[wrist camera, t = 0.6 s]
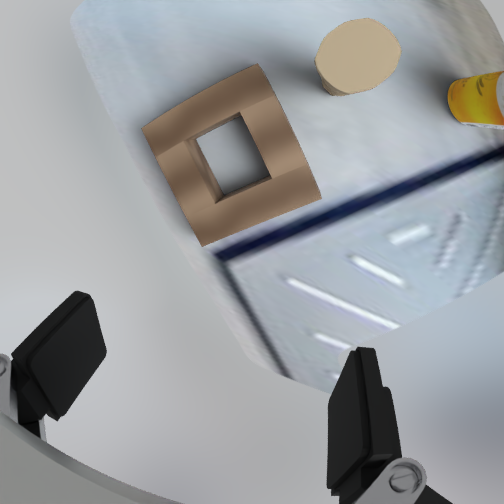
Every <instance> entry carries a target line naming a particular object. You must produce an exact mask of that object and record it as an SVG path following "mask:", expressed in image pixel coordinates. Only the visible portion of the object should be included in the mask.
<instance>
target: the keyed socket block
mask: <svg viewBox="0 0 504 504" xmlns="http://www.w3.org/2000/svg"><path fill="white" fill-rule="evenodd" d="M241 115H242V117H243V119H244V121H245V123H246V125H247V127H248V129H249V131H250V133H251V135H252V137H253V139H254V141H255V143H256V146H257V148H258V150H259V152H260V154H261V156H262V158H263V160H264V162H265V164H266V166H267V169H268V171H269V173H270V176H267V177H265V178H263V179H260V180H258V181H256V182H254V183H251V184H249V185H247V186H244V187H242V188H240V189H238V190H236V191H233V192H231V193H229V194H227V195H225V196H224V195H223V193H222V191H221V189H220V187H219V185H218V183H217V181H216V179H215V177H214V175H213V173H212V171H211V169H210V167H209V165H208V163H207V161H206V159H205V157H204V155H203V153H202V151H201V149H200V147H199V145H198V143H197V141H196V138H198V137H200V136H202V135H204V134H206V133H208V132H210V131H211V130H213V129H215V128H217V127H219V126H221V125H223V124H225V123H227V122H229V121H231V120H233V119H235V118H237V117H239V116H241ZM141 129H142V131H143V133H144V135H145V137H146V139H147V141H148V143H149V145H150V147H151V149H152V151H153V153H154V155H155V158H156V160H157V162H158V164H159V166H160V167H161V169H162V171H163V173H164V175H165V177H166V179H167V181H168V183H169V185H170V187H171V189H172V191H173V193H174V195H175V197H176V199H177V201H178V203H179V205H180V206H181V208H182V210H183V212H184V214H185V216H186V218H187V220H188V222H189V224H190V225H191V227H192V229H193V231H194V233H195V235H196V237H197V239H198V240H199V242H200V244H201V246H202V247H203V246H205V245H208V244H210V243H212V242H215V241H217V240H220V239H222V238H225V237H227V236H229V235H232V234H234V233H237V232H239V231H242V230H244V229H247V228H249V227H252V226H254V225H257V224H259V223H262V222H264V221H266V220H269V219H272V218H274V217H277V216H279V215H282V214H284V213H287V212H289V211H292V210H294V209H297V208H299V207H302V206H304V205H307V204H310V203H312V202H315V201H317V200H320V199H322V198H321V194H320V190H319V188H318V186H317V183H316V181H315V178H314V176H313V174H312V171H311V169H310V167H309V165H308V162H307V160H306V158H305V156H304V153H303V151H302V149H301V147H300V144H299V142H298V140H297V138H296V136H295V134H294V132H293V129H292V127H291V125H290V123H289V121H288V119H287V117H286V115H285V113H284V111H283V109H282V107H281V105H280V103H279V101H278V99H277V97H276V95H275V93H274V91H273V89H272V87H271V85H270V83H269V81H268V79H267V77H266V75H265V74H264V72H263V70H262V69H261V67H260V66H259V64H258V63H257V64H255V65H253V66H251V67H249V68H246V69H244V70H242V71H240V72H238V73H236V74H234V75H232V76H230V77H228V78H226V79H224V80H222V81H220V82H218V83H216V84H214V85H212V86H211V87H209V88H207V89H205V90H203V91H201V92H200V93H198V94H196V95H194V96H193V97H191V98H189V99H187V100H186V101H184V102H182V103H181V104H179V105H177V106H176V107H174V108H172V109H171V110H169V111H167V112H166V113H164V114H163V115H161V116H159V117H158V118H156V119H155V120H153V121H152V122H150V123H149V124H147V125H146V126H144V127H143V128H141Z"/></svg>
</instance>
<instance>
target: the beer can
mask: <svg viewBox="0 0 504 504" xmlns="http://www.w3.org/2000/svg"><path fill="white" fill-rule="evenodd" d="M448 104H449V107H450V110H451V112H452V114H453V115H454V117H455V118H456V119H457V120H458V121H459V122H461V123H462V124H464V125H467V126H476V127H486V128H495V129H503V130H504V71H501V72H495V73H489V74H483V75H478V76H473V77H468V78H463V79H459V80H456V81H454V82H453V83H452V84H451V85H450V87H449V90H448Z"/></svg>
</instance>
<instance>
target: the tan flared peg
mask: <svg viewBox="0 0 504 504" xmlns="http://www.w3.org/2000/svg"><path fill="white" fill-rule="evenodd" d="M401 52H402V51H401V47H400V45H399V42H398V40H397V39H396V37H395V36H394V35H393V34H392V32H391V31H390V30H389V29H387V28H386V27H385V26H384V25H382V24H381V23H380V22H378V21H375V20H373V19H370V18H364V19H357V20H351V21H347V22H344V23H343V24H341V25H339V26H338V27H336V28H335V29H334V30H332V31H331V32H330V33H329V34H328V35H327V36H326V37H325V38H324V39H323V41H322V43H321V45H320V47H319V49H318V52H317V55H316V57H315V61H314V62H315V66H316V69H317V72H318V73H319V75H320V76H321V78H322V85H323V87H324V88H325V89H326V90H327V91H328V92H329V93H330V95H332V96H335V95H336V96H345V95H349V94H354V93H359V92H363V91H367V90H370V89H373V88H375V87H376V86H378V85H379V84H380V83H382V82H383V81H384V80H385V79H386V78H388V77H389V76H390V75H391V74H392V73H393V72H394V70H395V68H396V66H397V64H398V61H399V58H400V55H401Z"/></svg>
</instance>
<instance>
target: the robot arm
mask: <svg viewBox="0 0 504 504" xmlns="http://www.w3.org/2000/svg"><path fill="white" fill-rule="evenodd" d="M106 353H107V350H106V346H105V343H104V339H103V335H102V332H101V328H100V324H99V320H98V316H97V313H96V308H95V304H94V301H93V299H92V298H91V296H90V295H89V294H87V293H83V292H80V291H75V292H73V293H72V294H71V295H70V296H69V297H68V298H67V299H66V300H65V301H64V302H63V303H62V304H61V305H59V307H57V308H56V309H55V310H54V311H53V312H52V313H51V314H50V315H49V316H48V317H47V318H46V319H45V320H44V321H43V322H42V323H41V324H40V325H39V326H38V327H37V328H36V329H35V330H34V331H33V332H32V333H31V334H30V335H29V336H28V337H27V338H26V339H25V340H24V341H23V342H22V343H21V344H20V345H19V346H18V347H17V348H16V349H15V350H14V352H12V353H11V355H12V357H13V360H12V361H11V360H10V359H9V357H8V356H7V355H4V354H0V504H183V503H179V502H176V501H173V500H170V499H166V498H163V497H160V496H157V495H155V494H152V493H149V492H146V491H143V490H141V489H138V488H136V487H133V486H131V485H128V484H125V483H123V482H121V481H118V480H116V479H114V478H112V477H109V476H107V475H105V474H103V473H101V472H99V471H97V470H95V469H92V468H91V467H89V466H87V465H85V464H83V463H81V462H79V461H77V460H75V459H73V458H72V457H70V456H68V455H66V454H65V453H63V452H61V451H59V450H57V449H56V448H54V447H53V446H51V445H49V444H48V443H47V441H46V434H45V425H44V415H45V414H47V415H48V416H49V417H51V418H53V419H55V420H56V421H58V420H59V418H60V417H61V416H64V415H65V414H66V413H67V411H68V409H69V408H70V407H71V405H72V404H73V402H74V401H75V399H76V398H77V396H78V395H79V394H80V392H81V391H82V389H83V388H84V386H85V385H86V384H87V382H88V381H89V379H90V378H91V376H92V375H93V374H94V372H95V371H96V369H97V368H98V367H99V365H100V364H101V362H102V361H103V360H104V358H105V356H106ZM327 462H328V463H327V488H328V489H331V496H339V504H452V503H451V502H450V501H448V500H447V499H445V498H444V497H443V496H441V495H440V494H438V493H437V492H435V491H434V490H433V489H431V488H430V487H429V486H427V485H426V479H427V476H426V472H425V469H424V468H423V466H422V465H421V464H420V463H419V462H417V461H416V460H414V459H411V458H402V454H401V446H400V439H399V433H398V427H397V421H396V415H395V410H394V405H393V399H392V394H391V391H390V389H389V388H388V387H383V385H382V380H381V375H380V370H379V366H378V361H377V356H376V351H375V349H374V348H366V347H357V349H356V350H355V351H351V352H350V353H349V356H348V358H347V361H346V363H345V366H344V368H343V370H342V372H341V375H340V377H339V379H338V381H337V384H336V386H335V388H334V390H333V392H332V394H331V397H330V399H329V403H328V460H327Z"/></svg>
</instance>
